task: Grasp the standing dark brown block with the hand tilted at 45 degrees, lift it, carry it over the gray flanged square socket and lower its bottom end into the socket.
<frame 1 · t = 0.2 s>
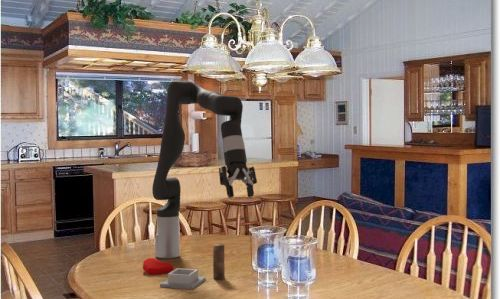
hand: (241, 197, 184), 31 cm above the table, fingers open, 8 cm apart
dark brown block: (219, 278, 196), on the table
heart: (155, 273, 205), on the table
gray flanged square socket: (183, 283, 190), on the table
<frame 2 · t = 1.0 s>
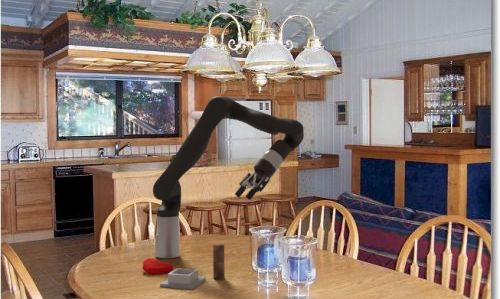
hand: (242, 197, 199), 29 cm above the table, fingers open, 8 cm apart
nothing on the table moved.
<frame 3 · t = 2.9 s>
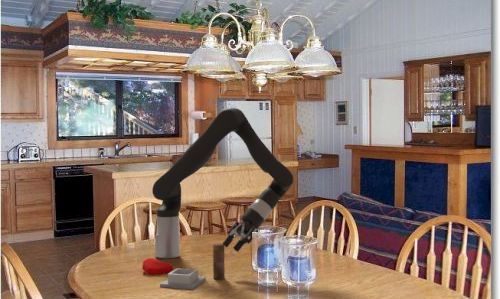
hand: (229, 247, 198), 11 cm above the table, fingers open, 8 cm apart
nothing on the table moved.
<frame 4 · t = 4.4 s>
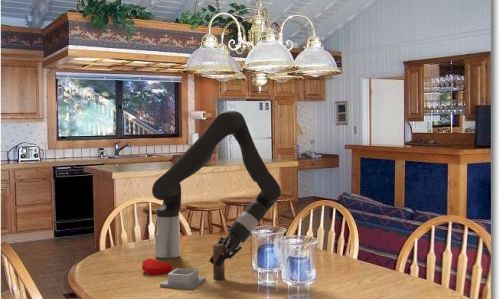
hand: (214, 263, 195), 6 cm above the table, fingers closed on dark brown block, 4 cm apart
dark brown block: (219, 278, 196), on the table, touching gripper
everything else where it was.
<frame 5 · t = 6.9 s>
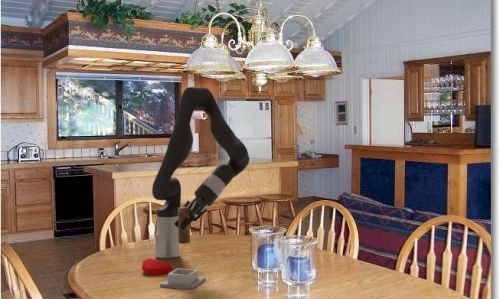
hand: (178, 226, 189), 20 cm above the table, fingers closed on dark brown block, 4 cm apart
dark brown block: (184, 242, 190), point 14 cm above the table, touching gripper
everything else where it was.
when the fingers open (9 cm above the table, at t = 9.4 s): dark brown block drops 2 cm, resting on gray flanged square socket.
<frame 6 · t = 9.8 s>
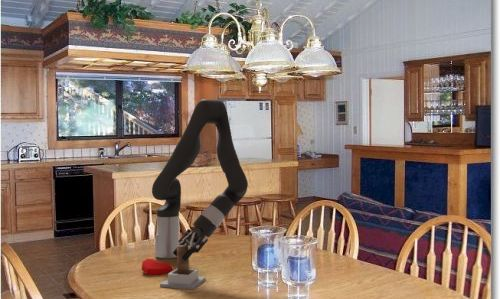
hand: (178, 257, 189), 9 cm above the table, fingers open, 7 cm apart
dark brown block: (183, 280, 190), point 1 cm above the table, touching gray flanged square socket
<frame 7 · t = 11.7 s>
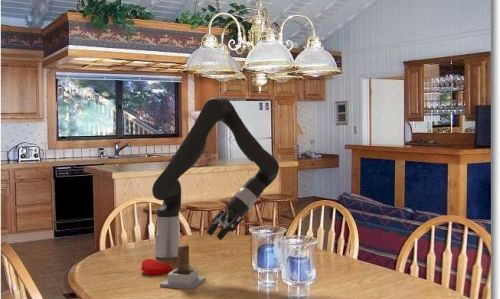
hand: (213, 236, 196), 15 cm above the table, fingers open, 8 cm apart
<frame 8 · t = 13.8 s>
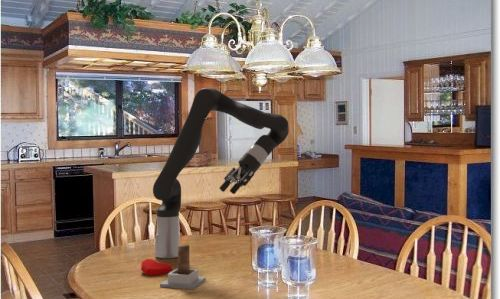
hand: (226, 191, 200), 31 cm above the table, fingers open, 8 cm apart
at the end: dark brown block 0.1 cm off-centre on the gray flanged square socket, point 1.0 cm above the gray flanged square socket's base; dark brown block tilted 1°; the gripper is holding nothing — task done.
